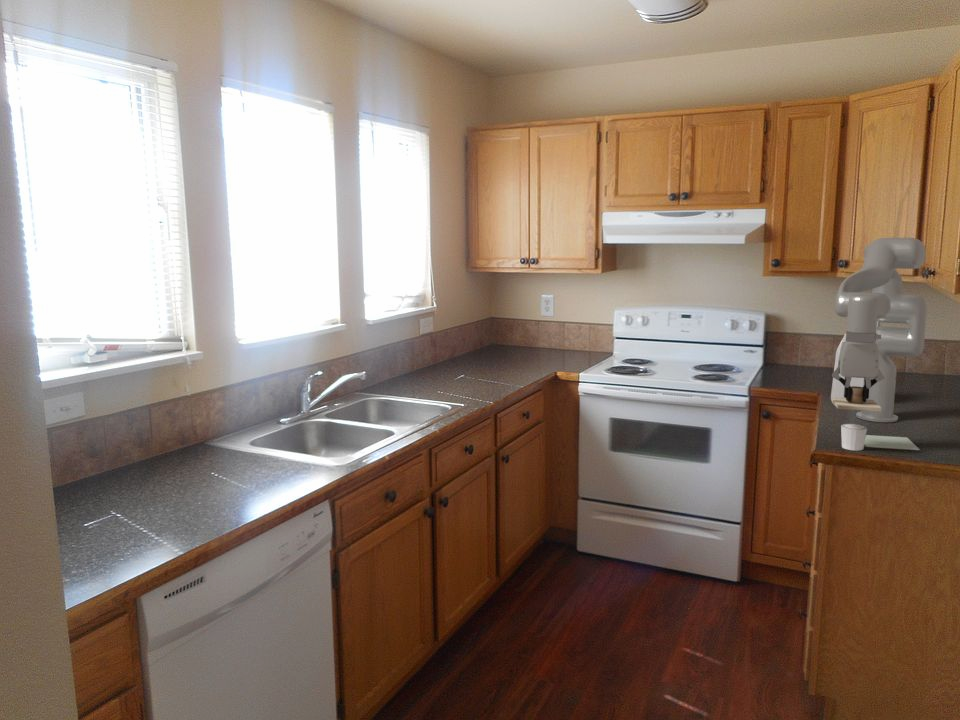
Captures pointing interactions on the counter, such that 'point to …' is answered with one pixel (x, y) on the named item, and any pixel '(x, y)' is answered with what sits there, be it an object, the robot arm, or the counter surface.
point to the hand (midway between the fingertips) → (855, 400)
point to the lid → (856, 401)
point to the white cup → (853, 436)
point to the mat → (889, 442)
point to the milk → (837, 385)
